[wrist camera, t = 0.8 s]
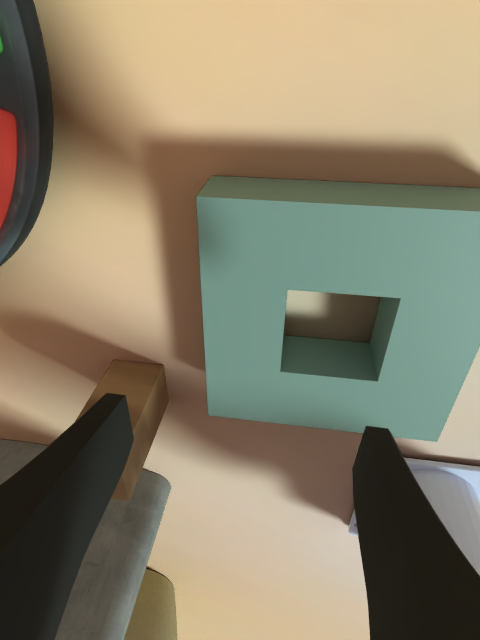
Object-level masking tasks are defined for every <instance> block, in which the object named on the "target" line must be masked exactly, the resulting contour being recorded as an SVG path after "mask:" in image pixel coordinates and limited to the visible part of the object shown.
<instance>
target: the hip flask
mask: <svg viewBox="0 0 480 640" xmlns="http://www.w3.org/2000/svg"><path fill="white" fill-rule="evenodd" d="M47 447H48V445H42V444H36V443H29V442H22V441H14V440H4V439H0V485H1V484H2V483H3V482H5V481H6V480H7V479H9V478H10V477H11V476H13V475H14V474H15V473H16V472H18V471H19V470H20V469H21V468H23V467H24V466H25V465H26V464H27V463H29V462H30V461H31V460H32V459H34V458H35V457H36V456H37V455H38V454H40V453H41V452H42V451H43V450H44V449H46V448H47ZM170 489H171V486H170V483H169V482H168V481H167V480H166V479H165V478H164V477H162V476H161V475H159V474H156V473H153V472H150V471H147V470H144V469H142V470H141V473H140V475H139V478H138V480H137V483H136V485H135V488H134V490H133V493H132V496H131V498H130V501H124V500H117V499H110V501H109V503H108V505H107V508H106V510H105V512H104V514H103V516H102V518H101V520H100V522H99V524H98V527H97V529H96V531H95V533H94V535H93V537H92V539H91V541H90V544H89V546H88V548H87V551H86V553H85V555H84V558H83V560H82V563H81V566H80V569H79V571H78V574H77V577H76V580H75V582H74V585H73V588H72V590H71V593H70V596H69V599H68V602H67V605H66V608H65V611H64V613H63V616H62V619H61V622H60V625H59V628H58V631H57V634H56V637H55V640H124V637H125V633H126V630H127V627H128V624H129V621H130V617H131V614H132V611H133V608H134V605H135V601H136V598H137V595H138V592H139V589H140V585H141V582H142V579H143V576H144V573H145V569H146V566H147V563H148V560H149V557H150V553H151V550H152V547H153V544H154V541H155V537H156V534H157V531H158V528H159V525H160V521H161V518H162V515H163V512H164V509H165V505H166V502H167V499H168V496H169V493H170Z"/></svg>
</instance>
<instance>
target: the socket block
mask: <svg viewBox="0 0 480 640" xmlns="http://www.w3.org/2000/svg"><path fill="white" fill-rule="evenodd" d="M196 204H197V222H198V240H199V259H200V277H201V295H202V313H203V331H204V349H205V367H206V385H207V403H208V416H217V417H226V418H234V419H243V420H252V421H260V422H269V423H278V424H286V425H295V426H304V427H312V428H321V429H330V430H338V431H347V432H356V433H364V430H365V427H366V426H373V427H380V428H388V429H389V430H390V432H391V434H392V436H393V437H399V438H408V439H416V440H425V441H434V442H437V441H438V439H439V436H440V434H441V432H442V430H443V427H444V425H445V423H446V421H447V418H448V416H449V414H450V412H451V409H452V407H453V405H454V403H455V401H456V398H457V396H458V394H459V392H460V389H461V387H462V385H463V383H464V380H465V378H466V376H467V374H468V371H469V369H470V367H471V365H472V363H473V360H474V358H475V356H476V354H477V351H478V349H479V347H480V188H468V187H446V186H425V185H403V184H382V183H360V182H339V181H317V180H295V179H274V178H252V177H231V176H211V178H210V179H209V180H208V182H207V183H206V184H205V185H204V187H203V188H202V189H201V191H200V192H199V193H198V195H197V196H196ZM287 290H300V291H313V292H326V293H338V294H351V295H364V296H377V297H381V299H380V303H379V307H378V311H377V315H376V319H375V323H374V328H373V332H372V336H371V340H370V343H365V342H354V341H343V340H332V339H321V338H310V337H299V336H288V335H283V333H284V322H285V310H286V299H287Z"/></svg>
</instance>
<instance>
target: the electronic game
mask: <svg viewBox="0 0 480 640" xmlns="http://www.w3.org/2000/svg"><path fill="white" fill-rule="evenodd" d="M52 150H53V107H52V93H51V85H50V78H49V70H48V63H47V58H46V52H45V47H44V42H43V37H42V32H41V28H40V24H39V20H38V17H37V13H36V9H35V5H34V2H33V0H0V266H1V265H2V264H4V263H5V262H6V261H7V260H8V259H9V258H10V257H11V256H12V255H13V254H14V253H15V252H16V251H17V250H18V249H19V247H20V246H21V245H22V243H23V242H24V241H25V239H26V238H27V236H28V235H29V233H30V231H31V230H32V228H33V226H34V224H35V222H36V219H37V217H38V215H39V213H40V210H41V207H42V204H43V201H44V198H45V194H46V191H47V187H48V181H49V176H50V170H51V162H52Z"/></svg>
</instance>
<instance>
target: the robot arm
mask: <svg viewBox="0 0 480 640" xmlns="http://www.w3.org/2000/svg"><path fill="white" fill-rule="evenodd" d="M133 441H134V435H133V430H132V425H131V420H130V415H129V409H128V404H127V399H126V395H120V394H112V393H106V394H105V395H103V396H102V397H101V398H100V399H99V400H98V401H97V402H96V403H95V404H94V405H93V406H92V407H91V408H90V409H89V410H87V411H86V412H85V413H84V414H83V415H82V416H81V417H80V418H79V419H78V420H77V421H76V422H75V423H74V424H72V425H71V426H70V427H69V428H68V429H67V430H66V431H65V432H64V433H63V434H61V435H60V436H59V437H58V438H57V439H56V440H55V441H54V442H52V443H51V444H50V445H49V446H48V447H47V448H46V449H44V450H43V451H42V452H41V453H40V454H38V455H37V456H36V457H35V458H34V459H32V460H31V461H30V462H29V463H27V464H26V465H25V466H24V467H23V468H21V469H20V470H19V471H18V472H16V473H15V474H14V475H13V476H11V477H10V478H9V479H7V480H6V481H5V482H3V483H2V484H1V485H0V640H55V637H56V634H57V631H58V628H59V625H60V622H61V619H62V616H63V613H64V611H65V608H66V605H67V602H68V599H69V596H70V593H71V590H72V588H73V585H74V582H75V580H76V577H77V574H78V571H79V569H80V566H81V563H82V560H83V558H84V555H85V553H86V551H87V548H88V546H89V544H90V541H91V539H92V537H93V535H94V533H95V531H96V529H97V527H98V524H99V522H100V520H101V518H102V516H103V514H104V512H105V510H106V508H107V505H108V503H109V501H110V499H111V497H112V495H113V493H114V491H115V488H116V486H117V484H118V482H119V480H120V478H121V475H122V473H123V471H124V468H125V465H126V462H127V460H128V457H129V454H130V450H131V447H132V444H133ZM353 497H354V511H353V514H352V517H351V520H350V524H349V533H350V534H352V535H356V536H358V537H359V543H360V550H361V557H362V563H363V570H364V577H365V583H366V591H367V600H368V610H369V626H370V640H480V467H478V466H470V465H462V464H453V463H445V462H437V461H429V460H420V459H412V458H404V457H403V455H402V453H401V451H400V449H399V448H398V446H397V444H396V442H395V440H394V438H393V436H392V434H391V432H390V430H389V429H388V428H380V427H373V426H366V427H365V430H364V434H363V437H362V440H361V443H360V447H359V450H358V453H357V456H356V459H355V463H354V466H353Z"/></svg>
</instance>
